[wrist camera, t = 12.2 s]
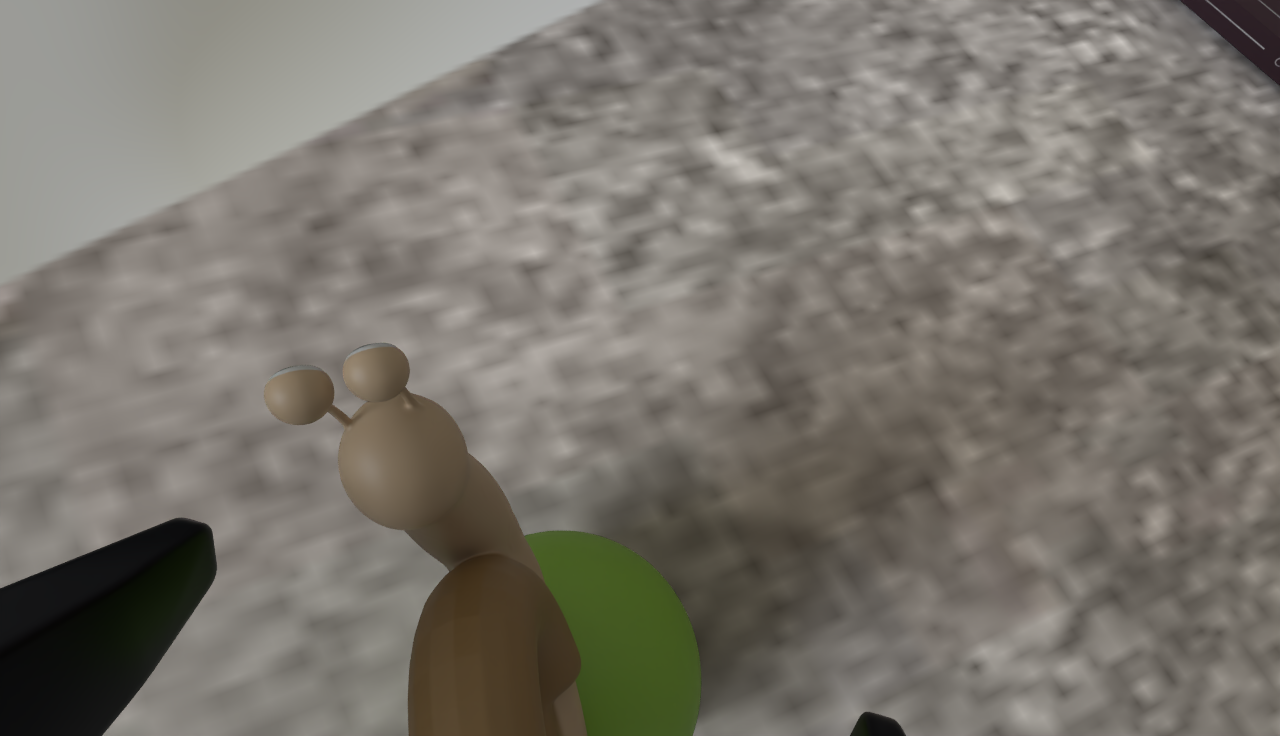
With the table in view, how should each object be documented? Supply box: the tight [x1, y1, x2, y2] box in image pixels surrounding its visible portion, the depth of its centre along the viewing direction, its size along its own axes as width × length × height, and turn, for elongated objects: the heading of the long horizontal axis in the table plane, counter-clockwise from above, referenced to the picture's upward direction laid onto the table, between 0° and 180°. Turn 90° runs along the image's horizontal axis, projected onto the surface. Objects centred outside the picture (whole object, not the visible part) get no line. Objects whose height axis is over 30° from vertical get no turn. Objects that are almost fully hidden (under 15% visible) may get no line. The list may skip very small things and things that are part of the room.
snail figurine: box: [264, 343, 701, 736], centre depth 11 cm, size 5×6×12 cm
